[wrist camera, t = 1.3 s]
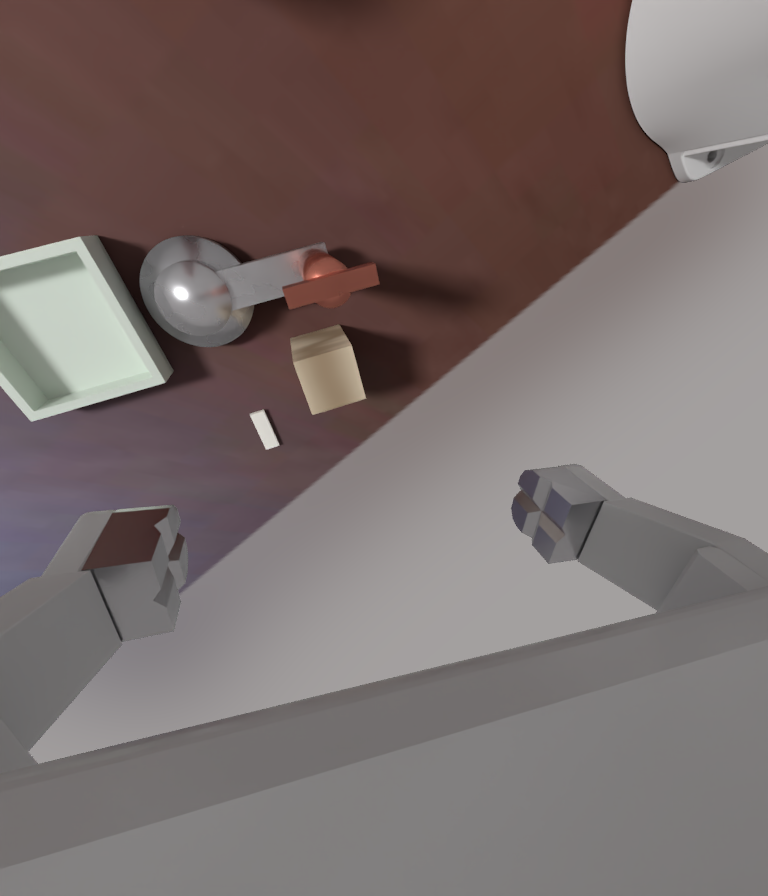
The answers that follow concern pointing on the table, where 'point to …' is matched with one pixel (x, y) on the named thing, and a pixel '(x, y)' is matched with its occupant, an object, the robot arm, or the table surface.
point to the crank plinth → (191, 250)
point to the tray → (71, 330)
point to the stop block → (327, 369)
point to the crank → (255, 286)
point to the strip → (264, 429)
